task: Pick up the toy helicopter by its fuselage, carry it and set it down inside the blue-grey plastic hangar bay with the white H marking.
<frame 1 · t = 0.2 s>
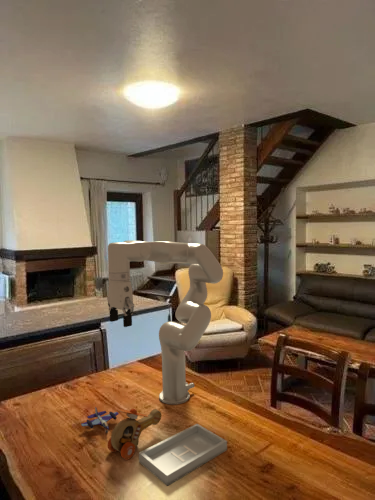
hand: (120, 323, 136), 36 cm above the table, tool pointing down, fingers open, 9 cm apart
toy helicopter: (135, 445, 123), on the table
toy airplane: (102, 428, 134), on the table
hangar bay: (184, 455, 117), on the table
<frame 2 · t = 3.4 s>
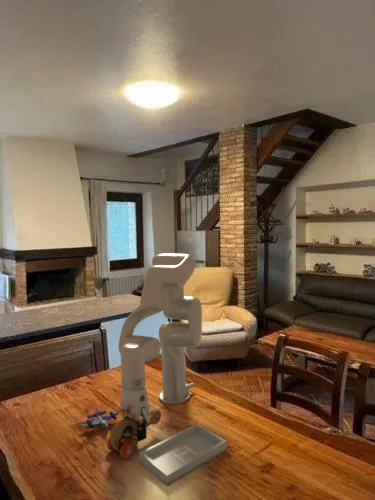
hand: (135, 434, 123), 4 cm above the table, tool pointing down, fingers closed on toy helicopter, 7 cm apart
toy helicopter: (135, 445, 123), on the table, touching gripper
everything else where it was.
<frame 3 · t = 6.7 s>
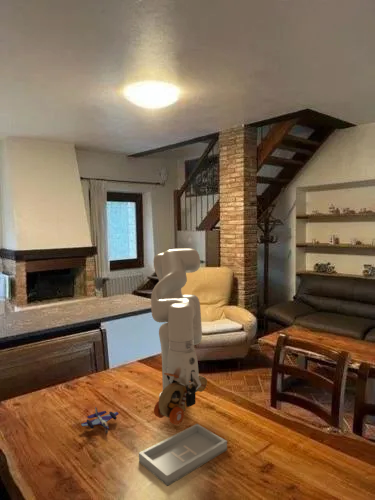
hand: (182, 400, 116), 18 cm above the table, tool pointing down, fingers closed on toy helicopter, 7 cm apart
toy helicopter: (182, 412, 116), point 14 cm above the table, touching gripper
everything else where it was.
when the fingers open (6 cm above the table, at t = 9.7 s): toy helicopter drops 1 cm, resting on hangar bay.
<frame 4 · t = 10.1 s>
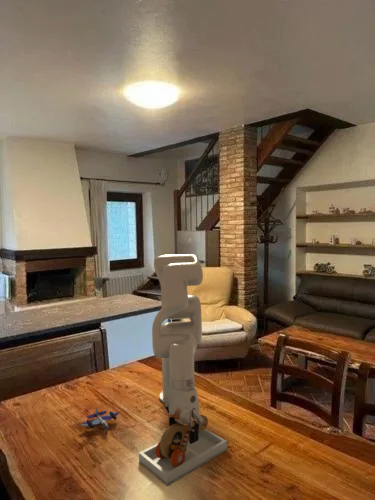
hand: (183, 435, 117), 7 cm above the table, tool pointing down, fingers open, 9 cm apart
toy helicopter: (183, 453, 117), point 1 cm above the table, touching hangar bay
everything else where it was.
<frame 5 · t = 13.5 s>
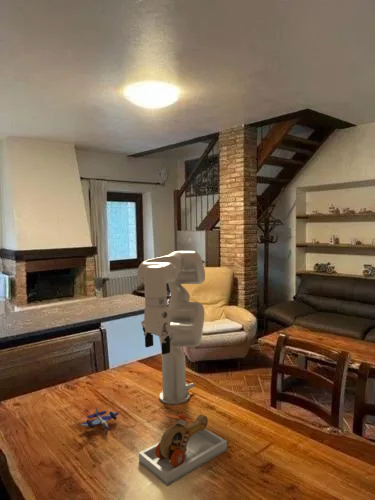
hand: (157, 349, 131), 28 cm above the table, tool pointing down, fingers open, 9 cm apart
nothing on the table moved.
at the end: toy helicopter inside the target area on the hangar bay (0.4 cm from its centre), point 0.7 cm above the hangar bay's base; toy helicopter tilted 0°; the gripper is holding nothing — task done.
